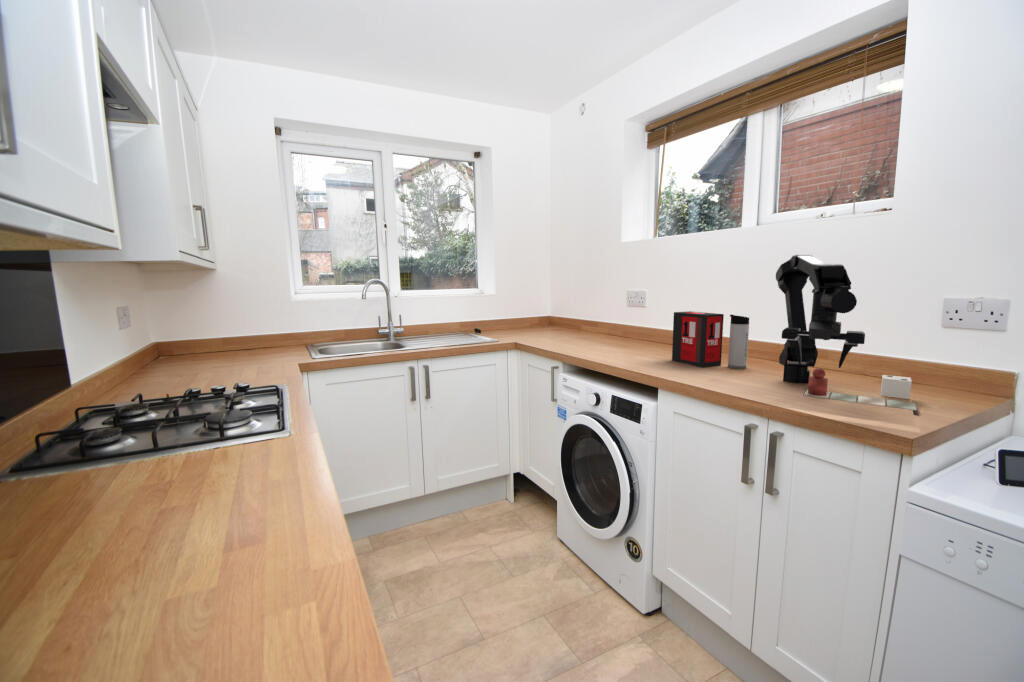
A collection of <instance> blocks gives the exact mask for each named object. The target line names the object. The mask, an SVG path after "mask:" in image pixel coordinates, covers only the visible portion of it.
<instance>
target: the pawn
mask: <svg viewBox="0 0 1024 682" xmlns="http://www.w3.org/2000/svg"><path fill="white" fill-rule="evenodd" d="M828 382H829V379H828V378H827V377H826V371H825V370H824V369H822V368H820V367H818V368H815V369H813V371H812V375H810V377H809V384H808V386H807V389H808V393H809V394H812V395H819V396H825V395H827V392H828V386H829V385H828V384H829V383H828Z"/></svg>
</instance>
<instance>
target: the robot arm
mask: <svg viewBox="0 0 1024 682" xmlns="http://www.w3.org/2000/svg"><path fill="white" fill-rule="evenodd" d="M850 279H851V278H850V277H849V275H848V271H847V269H846V268H845V265H843V264H841V263H827V262H824V261H822V260H820V259H818V258H816V257H814V256H813V255H811V254H807V253H806V254H795V255H792V256H791V258H790V259H789V260H787V261H785V262H783V263H781V264H780V266H779V267H778V268H777V270H776V272H775V280H776V282H777V286H778V287H777V288H779V290H780V291H782V293H783V294H784V296H785V297H784V298H785V306H786V317H787V327H785V328H784V329H783V330H782V331H781V339H783V340H786V341H785V343H784V344H783V345H784V346H783V349H782V350H781V353H780V355H779V357H778V363H779V364H780V365H782V366H783V378H782V382H787V383H792V384H809V377H811V370H810V369H809V367H811V368H815V366H816V364H817V363H816V362H817V360H818V359H817V358H818V355H819V352H818V348H817V346H816V340H823V341H830V340H838V341H840V340H841V341H844V342H843V343H844V344H843V346H842V351H841V354H840V358H839V361H838V369H840V368H841V367H842V365H843V363H844V362H845V359H846V357H847V355H848V354H849V353H850V352H851V349H852V348H854V347H855V348H857V347H858V346H859V345H865V338H866V332H864V331H860V330H847V331H846V333H845V332H843V333H842V332H841V331H842V322H841V321H837V314H838V313H839V314H847V313H850V312H851V311H853V310H854V309H855V307H856V306H857V301H858V300H857V297H856V295H855V294H854V293H853V292H851V291H850V290H851V289H852V286H851V285H852V281H851V280H850ZM808 281H809V282H810V283H811V285H812V286H813V289H811V293H812V294H813V295H812V307H811V316H810V322H809V324H808V330H807V323H806V322H807V321H806V314H805V312H806V311H805V304H804V303H805V302H804V295H803V289H804V287H805V286H806V284H807V282H808Z"/></svg>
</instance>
